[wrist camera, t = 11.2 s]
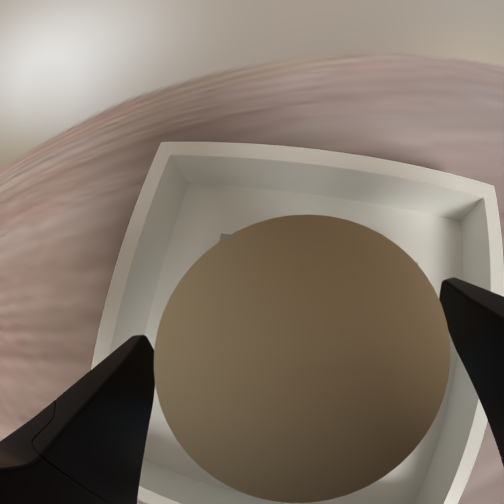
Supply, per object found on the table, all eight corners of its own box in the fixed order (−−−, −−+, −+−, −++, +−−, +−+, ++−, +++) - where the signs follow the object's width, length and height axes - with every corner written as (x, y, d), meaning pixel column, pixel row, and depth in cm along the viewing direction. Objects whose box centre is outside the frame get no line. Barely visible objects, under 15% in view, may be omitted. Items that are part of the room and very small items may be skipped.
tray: (417, 512, 10) (437, 540, 7) (117, 452, 15) (80, 466, 11) (466, 215, 16) (494, 185, 12) (183, 175, 20) (161, 141, 17)
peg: (291, 404, 14) (256, 539, 3) (249, 342, 15) (111, 317, 4) (355, 360, 14) (492, 379, 3) (312, 300, 15) (334, 166, 4)
